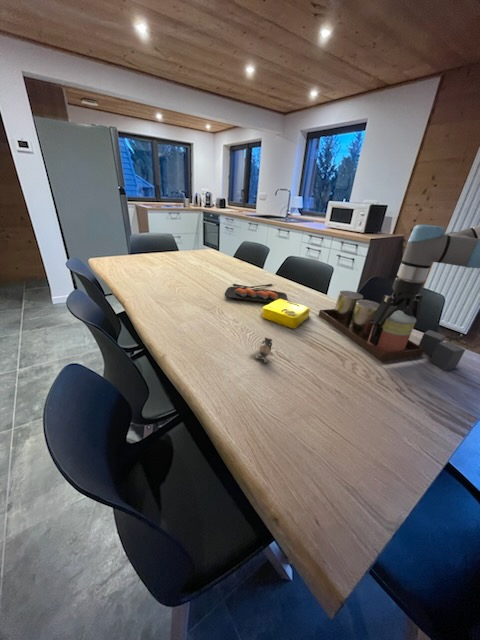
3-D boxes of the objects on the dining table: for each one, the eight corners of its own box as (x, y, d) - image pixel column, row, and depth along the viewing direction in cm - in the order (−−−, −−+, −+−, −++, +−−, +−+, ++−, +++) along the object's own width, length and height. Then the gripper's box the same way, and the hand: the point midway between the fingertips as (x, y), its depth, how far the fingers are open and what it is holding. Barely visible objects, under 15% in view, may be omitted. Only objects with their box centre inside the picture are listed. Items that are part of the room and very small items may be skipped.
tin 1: (360, 323, 106) (368, 298, 101) (342, 325, 103) (349, 299, 98) (345, 314, 113) (352, 290, 109) (328, 315, 110) (334, 290, 106)
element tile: (309, 317, 109) (312, 306, 107) (294, 329, 98) (296, 318, 96) (278, 307, 117) (279, 296, 115) (260, 317, 106) (261, 306, 104)
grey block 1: (437, 353, 90) (446, 335, 87) (432, 358, 87) (441, 339, 84) (421, 347, 94) (429, 329, 91) (416, 351, 91) (423, 333, 88)
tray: (420, 357, 87) (424, 349, 86) (380, 364, 82) (383, 355, 80) (351, 314, 116) (353, 307, 114) (318, 316, 110) (319, 309, 109)
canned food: (409, 350, 89) (422, 318, 84) (393, 360, 83) (407, 326, 78) (377, 335, 97) (387, 305, 92) (360, 343, 91) (371, 312, 85)
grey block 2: (455, 368, 83) (465, 349, 80) (444, 370, 81) (454, 351, 78) (440, 359, 87) (449, 341, 84) (429, 361, 85) (438, 342, 82)
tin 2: (379, 335, 97) (389, 308, 92) (359, 338, 94) (368, 310, 90) (362, 324, 105) (370, 299, 100) (343, 326, 102) (351, 300, 97)
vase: (262, 350, 84) (264, 333, 81) (276, 357, 81) (279, 340, 78) (251, 356, 80) (253, 339, 77) (266, 364, 77) (269, 346, 74)
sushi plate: (222, 299, 120) (223, 291, 118) (233, 280, 146) (233, 274, 145) (287, 307, 117) (288, 299, 115) (285, 286, 144) (286, 280, 142)
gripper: (426, 274, 86) (403, 333, 96) (370, 276, 79) (351, 339, 89) (449, 282, 80) (422, 343, 90) (389, 284, 73) (367, 351, 82)
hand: (386, 341), depth 89 cm, fingers closed on canned food, 11 cm apart
